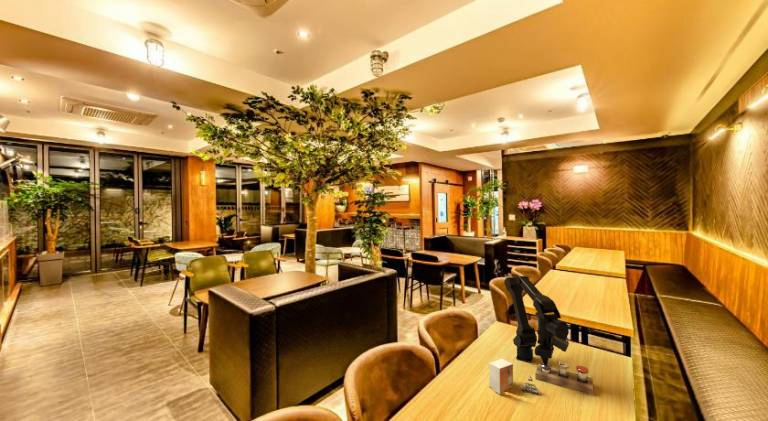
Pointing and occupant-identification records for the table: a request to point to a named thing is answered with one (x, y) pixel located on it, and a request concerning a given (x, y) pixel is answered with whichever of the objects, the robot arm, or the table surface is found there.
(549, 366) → the grey plug
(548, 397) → the table surface
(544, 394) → the table surface
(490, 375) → the small box
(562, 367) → the cream plug
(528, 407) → the table surface
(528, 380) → the house of cards
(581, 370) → the red plug
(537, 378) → the socket board
